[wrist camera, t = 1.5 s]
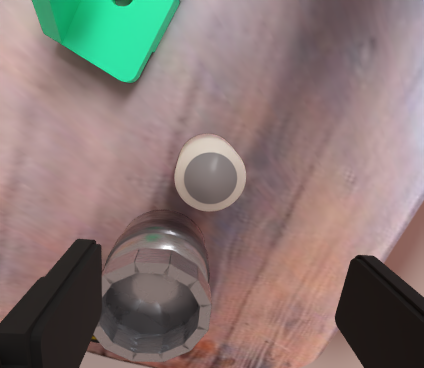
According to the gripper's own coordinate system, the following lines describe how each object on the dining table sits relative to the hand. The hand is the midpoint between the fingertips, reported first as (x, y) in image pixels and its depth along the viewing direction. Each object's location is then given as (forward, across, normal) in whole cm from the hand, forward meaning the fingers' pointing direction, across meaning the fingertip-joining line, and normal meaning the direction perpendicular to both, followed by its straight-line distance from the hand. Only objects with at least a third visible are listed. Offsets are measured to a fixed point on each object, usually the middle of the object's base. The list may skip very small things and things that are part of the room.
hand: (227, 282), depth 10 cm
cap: (+19, 0, 0) cm, 19 cm away
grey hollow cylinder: (+19, +4, +10) cm, 22 cm away
